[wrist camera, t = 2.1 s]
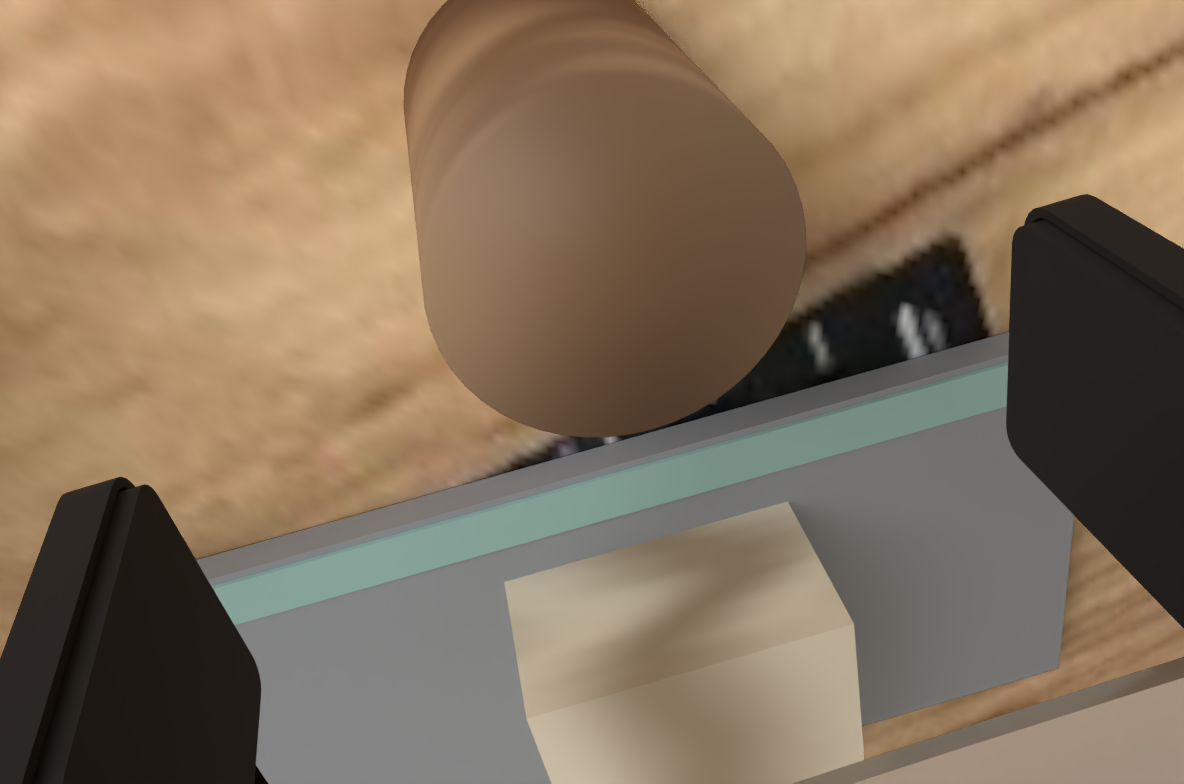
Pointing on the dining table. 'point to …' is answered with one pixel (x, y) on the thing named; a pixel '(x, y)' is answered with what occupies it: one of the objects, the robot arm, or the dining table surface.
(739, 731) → the birch pedestal
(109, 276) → the dining table surface
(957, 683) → the slate board
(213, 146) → the dining table surface
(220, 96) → the dining table surface
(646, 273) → the walnut drum
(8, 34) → the dining table surface
